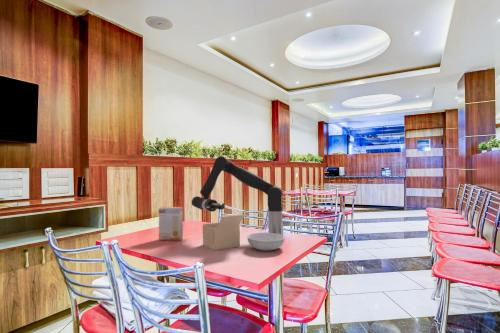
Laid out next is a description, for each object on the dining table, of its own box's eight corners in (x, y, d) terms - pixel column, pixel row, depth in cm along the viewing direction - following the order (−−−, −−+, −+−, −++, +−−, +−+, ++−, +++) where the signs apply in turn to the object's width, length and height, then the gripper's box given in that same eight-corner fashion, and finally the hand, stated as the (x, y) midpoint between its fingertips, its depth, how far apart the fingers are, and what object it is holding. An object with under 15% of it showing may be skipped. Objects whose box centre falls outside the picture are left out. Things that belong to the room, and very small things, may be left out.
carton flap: (222, 216, 151) (222, 217, 151) (244, 213, 159) (244, 214, 158) (216, 228, 156) (216, 229, 156) (238, 225, 164) (238, 226, 164)
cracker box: (183, 238, 184) (183, 206, 185) (180, 241, 178) (179, 207, 179) (162, 238, 186) (162, 206, 186) (158, 240, 180) (158, 207, 180)
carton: (201, 244, 169) (201, 224, 169) (226, 240, 179) (226, 221, 179) (214, 251, 155) (213, 229, 156) (240, 246, 165) (240, 225, 165)
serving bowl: (279, 255, 146) (279, 242, 146) (242, 252, 153) (241, 239, 154) (288, 245, 166) (288, 233, 166) (254, 242, 173) (254, 231, 173)
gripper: (199, 199, 177) (212, 202, 163) (218, 198, 184) (232, 200, 170) (200, 211, 177) (212, 215, 163) (219, 209, 184) (232, 212, 170)
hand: (222, 207), depth 166 cm, fingers closed
